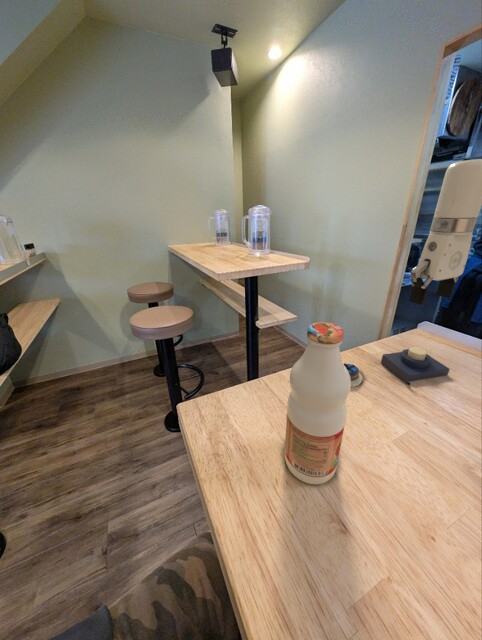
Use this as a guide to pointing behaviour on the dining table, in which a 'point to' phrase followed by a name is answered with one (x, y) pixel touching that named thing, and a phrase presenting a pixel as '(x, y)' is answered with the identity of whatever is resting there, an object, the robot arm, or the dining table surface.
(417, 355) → the push cap
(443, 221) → the robot arm
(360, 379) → the dessert
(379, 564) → the dining table surface
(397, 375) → the push cap base
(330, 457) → the fruit juice
